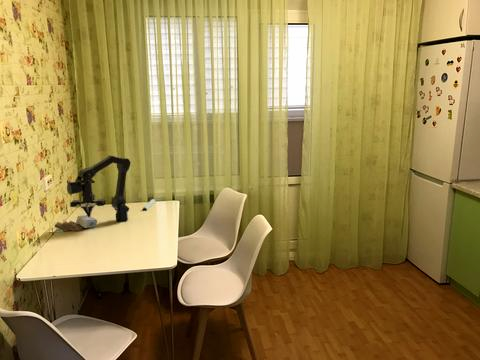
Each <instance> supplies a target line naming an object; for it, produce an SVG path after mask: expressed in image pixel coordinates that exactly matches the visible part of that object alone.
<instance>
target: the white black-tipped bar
mask: <svg viewBox="0 0 480 360" xmlns="http://www.w3.org/2000/svg"><path fill="white" fill-rule="evenodd" d="M154 202H155V203H156V199H154V198H152V199H150V200H149V202H147V203H146V204H145V206H144V207H142V209H141V211H142V210H143V211H144V210H147V211H148V210H149V209H150V208H151V207H152V206H153V205H154V204H155V203H154ZM153 203H154V204H153ZM152 204H153V205H152ZM151 205H152V206H151ZM150 206H151V207H150Z"/></svg>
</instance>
